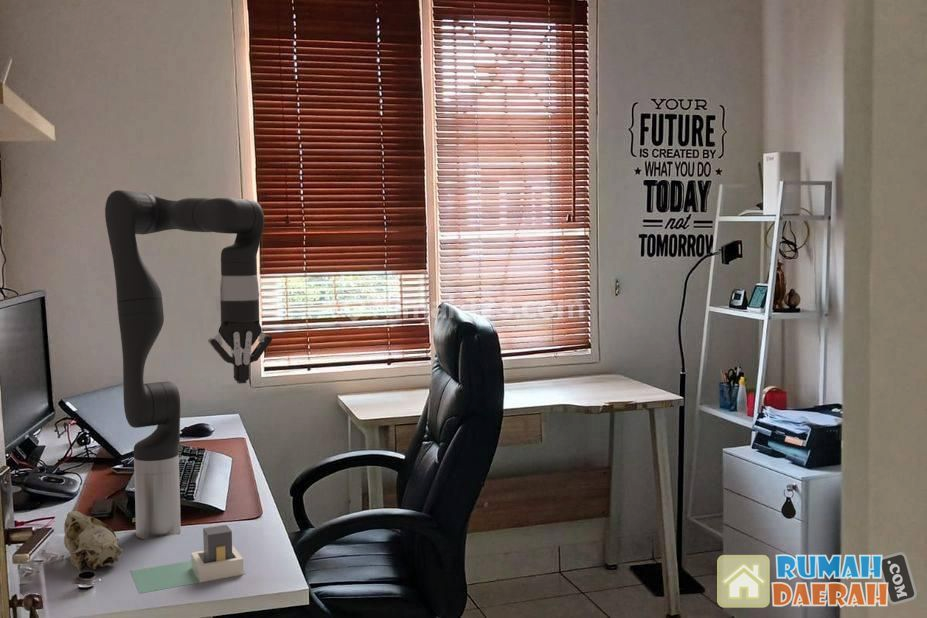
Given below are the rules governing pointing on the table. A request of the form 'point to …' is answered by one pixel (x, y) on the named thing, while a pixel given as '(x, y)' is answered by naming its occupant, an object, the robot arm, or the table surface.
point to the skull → (89, 541)
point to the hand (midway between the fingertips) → (241, 382)
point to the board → (165, 577)
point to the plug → (217, 543)
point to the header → (216, 566)
